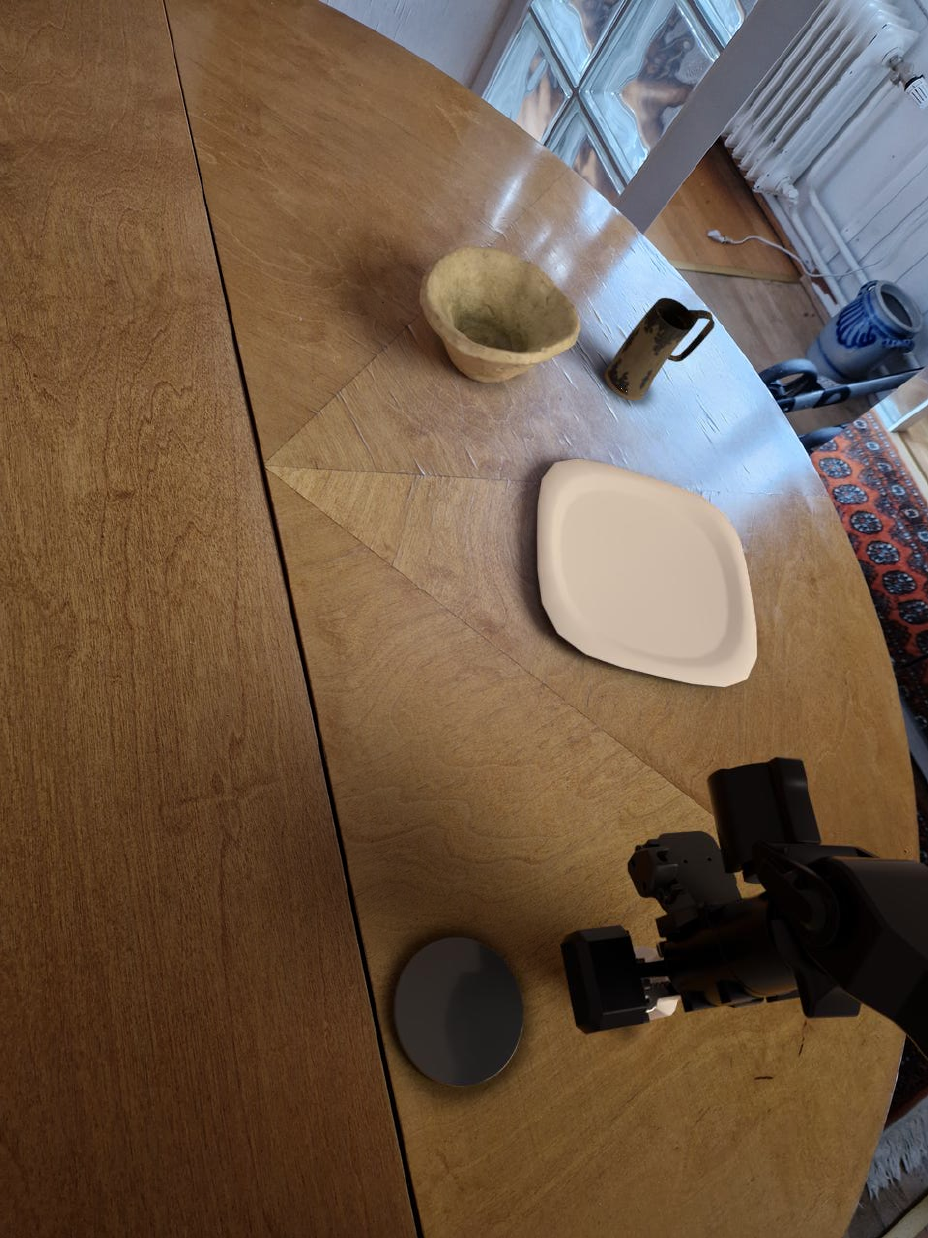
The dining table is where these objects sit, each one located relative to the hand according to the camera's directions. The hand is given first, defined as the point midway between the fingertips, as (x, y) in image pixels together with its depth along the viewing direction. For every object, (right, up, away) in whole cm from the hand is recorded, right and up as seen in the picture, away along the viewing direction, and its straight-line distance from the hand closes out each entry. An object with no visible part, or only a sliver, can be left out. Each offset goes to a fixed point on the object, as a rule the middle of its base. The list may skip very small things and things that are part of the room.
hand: (631, 984), depth 68 cm
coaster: (-13, -1, -3) cm, 14 cm away
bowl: (-11, +58, +33) cm, 67 cm away
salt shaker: (-1, -2, +2) cm, 3 cm away
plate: (+6, +32, +25) cm, 41 cm away
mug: (+8, +56, +40) cm, 70 cm away
